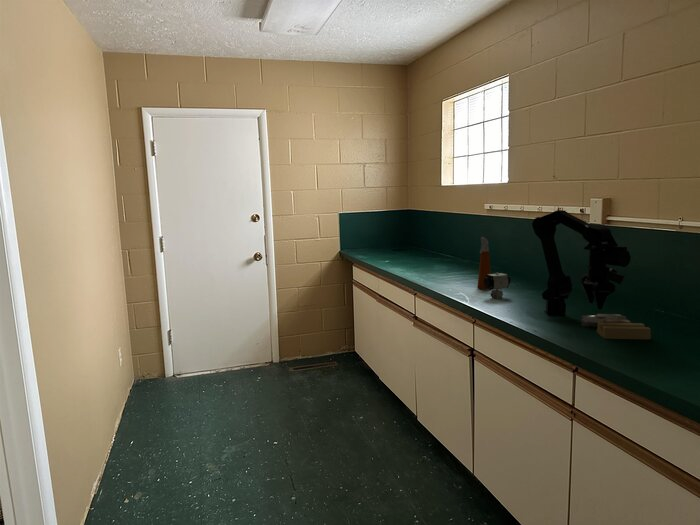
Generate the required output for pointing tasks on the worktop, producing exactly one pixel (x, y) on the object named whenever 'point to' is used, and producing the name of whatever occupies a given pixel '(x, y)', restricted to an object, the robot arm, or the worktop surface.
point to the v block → (623, 331)
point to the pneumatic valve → (497, 283)
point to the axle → (598, 319)
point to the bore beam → (613, 320)
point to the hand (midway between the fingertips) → (595, 306)
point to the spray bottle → (484, 263)
